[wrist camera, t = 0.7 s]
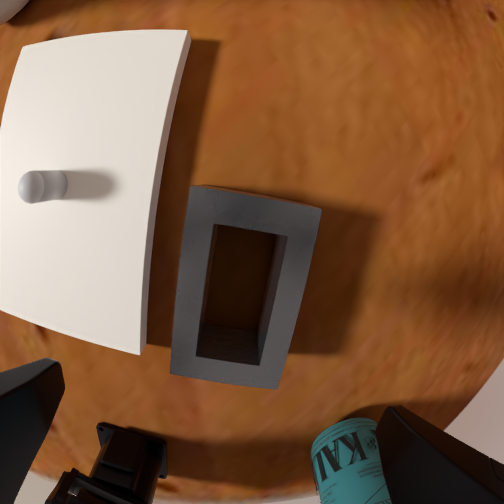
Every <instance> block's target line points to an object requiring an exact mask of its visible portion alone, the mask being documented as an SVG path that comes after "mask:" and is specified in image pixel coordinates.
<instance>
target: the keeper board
mask: <svg viewBox="0 0 504 504" xmlns="http://www.w3.org/2000/svg"><path fill="white" fill-rule="evenodd" d="M190 45H191V38H190V35H189V33H188V30H130V31H115V32H104V33H94V34H86V35H79V36H72V37H66V38H60V39H55V40H50V41H45V42H40V43H36V44H32V45H28V46H24V47H23V48H22V50H21V53H20V56H19V59H18V62H17V65H16V68H15V71H14V75H13V78H12V81H11V85H10V89H9V92H8V96H7V100H6V104H5V109H4V113H3V118H2V123H1V128H0V310H2V311H4V312H6V313H9V314H11V315H14V316H16V317H19V318H21V319H24V320H27V321H29V322H32V323H35V324H37V325H40V326H43V327H46V328H48V329H51V330H54V331H57V332H60V333H63V334H66V335H69V336H72V337H75V338H79V339H82V340H85V341H89V342H92V343H95V344H99V345H102V346H106V347H110V348H113V349H117V350H121V351H125V352H129V353H133V354H137V355H140V354H141V352H142V351H143V349H144V347H145V345H146V333H147V310H148V293H149V279H150V266H151V255H152V245H153V236H154V227H155V219H156V211H157V204H158V197H159V190H160V183H161V177H162V171H163V165H164V159H165V153H166V148H167V142H168V137H169V132H170V127H171V122H172V117H173V113H174V108H175V104H176V99H177V95H178V91H179V86H180V82H181V78H182V74H183V70H184V66H185V63H186V59H187V55H188V52H189V48H190Z"/></svg>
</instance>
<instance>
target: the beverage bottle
mask: <svg viewBox="0 0 504 504" xmlns="http://www.w3.org/2000/svg"><path fill="white" fill-rule="evenodd" d="M377 424H378V423H376V422H375V421H374V420H372V419H368V418H353V419H348V420H344V421H341V422H339V423H337V424H335V425H333V426H331V427H329V428H327V429H326V430H325V431H323V432H322V433H321V434H320V435H319V436H318V437H317V438H316V439H315V441H314V443H313V445H312V449H311V452H310V453H311V457H312V462H313V467H314V471H315V476H316V481H317V486H318V488H317V486H316V481H315V476H314V472H313V476H314V482H315V486H316V491H317V489H318V491H319V495H320V500H321V502H320V503H321V504H392V503H391V500H390V496H389V493H388V490H387V486H386V483H385V479H384V475H383V471H382V466H381V460H380V455H379V449H378V444H377V439H376V432H375V431H376V426H377ZM310 462H311V460H310ZM311 467H312V463H311ZM313 467H312V471H313ZM317 496H318V495H317Z"/></svg>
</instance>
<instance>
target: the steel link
mask: <svg viewBox="0 0 504 504" xmlns="http://www.w3.org/2000/svg"><path fill="white" fill-rule="evenodd" d="M321 213H322V209H320V208H317V207H315V206H312V205H309V204H306V203H303V202H298V201H293V200H288V199H282V198H277V197H272V196H267V195H261V194H256V193H250V192H244V191H238V190H232V189H226V188H220V187H214V186H208V185H192V186H190V192H189V198H188V205H187V211H186V218H185V225H184V232H183V240H182V247H181V255H180V264H179V272H178V281H177V291H176V301H175V311H174V323H173V335H172V349H171V364H170V374H175V375H180V376H185V377H190V378H196V379H201V380H207V381H214V382H220V383H227V384H234V385H241V386H249V387H258V388H267V389H278V385H279V382H280V379H281V375H282V372H283V368H284V365H285V361H286V358H287V354H288V351H289V347H290V343H291V340H292V336H293V332H294V328H295V325H296V321H297V317H298V313H299V309H300V305H301V301H302V297H303V293H304V289H305V285H306V281H307V276H308V272H309V268H310V264H311V259H312V255H313V250H314V246H315V241H316V237H317V232H318V227H319V223H320V218H321ZM219 224H221V225H227V226H233V227H239V228H245V229H250V230H256V231H262V232H268V233H273V234H276V239H275V244H274V249H273V254H272V259H271V264H270V269H269V274H268V279H267V284H266V289H265V293H264V298H263V303H262V308H261V313H260V317H259V322H258V327H257V331H251V330H244V329H238V328H231V327H225V326H219V325H213V324H207V323H204V320H205V313H206V305H207V298H208V291H209V284H210V277H211V271H212V264H213V257H214V251H215V244H216V238H217V232H218V226H219Z"/></svg>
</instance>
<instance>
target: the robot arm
mask: <svg viewBox="0 0 504 504" xmlns="http://www.w3.org/2000/svg"><path fill="white" fill-rule="evenodd" d="M64 391H65V383H64V378H63V373H62V367H61V364H60V363H59V362H58V361H56V360H54V359H51V358H43V359H41V360H38V361H35V362H32V363H29V364H26V365H22V366H19V367H16V368H13V369H10V370H7V371H4V372H1V373H0V504H14V501H15V499H16V496H17V494H18V492H19V490H20V488H21V486H22V483H23V481H24V479H25V477H26V475H27V472H28V471H29V469H30V467H31V465H32V463H33V461H34V459H35V457H36V455H37V453H38V451H39V449H40V447H41V445H42V443H43V441H44V439H45V437H46V435H47V433H48V431H49V428H50V426H51V423H52V421H53V418H54V416H55V413H56V411H57V408H58V406H59V403H60V401H61V399H62V396H63V394H64ZM96 428H97V433H98V437H99V441H100V446H101V450H100V452H99V454H98V457H97V459H96V461H95V463H94V465H93V468H92V470H91V472H90V474H89V477H88V476H86V475H84V474H82V473H80V472H79V470H77V469H75V468H73V469H72V470H71V472H65V471H64V472H63V474H62V476H61V478H60V480H59V482H58V484H57V485H56V487H55V488H54V490H53V491H52V492H51V494H50V495H49V497H48V498H47V500H46V501H45V504H152V502H153V498H154V494H155V490H156V485H157V481H158V478H161V479H165V478H166V477H167V443H166V441H164V440H162V439H159V438H154V437H150V436H146V435H142V434H138V433H134V432H131V431H127V430H124V429H120V428H117V427H113V426H110V425H107V424H104V423H98V424H97V426H96ZM375 432H376V439H377V444H378V449H379V455H380V460H381V466H382V471H383V475H384V479H385V483H386V486H387V490H388V493H389V496H390V500H391V503H392V504H504V464H502V463H499V462H498V461H496V460H494V459H492V458H489V457H488V456H486V455H484V454H483V453H481V452H479V451H477V450H476V449H474V448H472V447H470V446H468V445H467V444H465V443H463V442H461V441H459V440H458V439H456V438H454V437H453V436H451V435H449V434H448V433H446V432H444V431H442V430H441V429H439V428H437V427H436V426H434V425H432V424H431V423H429V422H427V421H426V420H424V419H422V418H421V417H419V416H417V415H416V414H414V413H412V412H411V411H409V410H407V409H406V408H404V407H403V406H400V405H397V406H389V407H387V408H386V409H385V411H384V413H383V415H382V417H381V419H380V421H379V422H378V424H377V426H376V431H375ZM72 494H75V495H76V496H75V495H72Z"/></svg>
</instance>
